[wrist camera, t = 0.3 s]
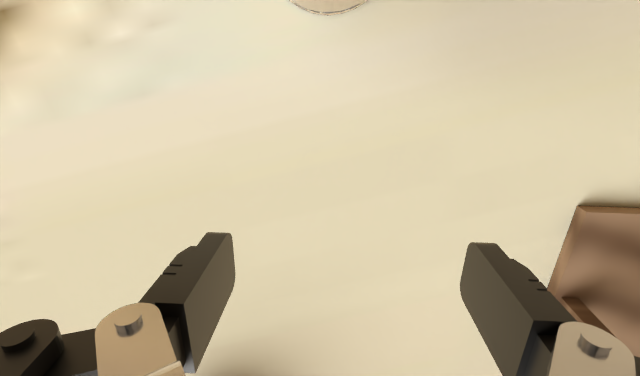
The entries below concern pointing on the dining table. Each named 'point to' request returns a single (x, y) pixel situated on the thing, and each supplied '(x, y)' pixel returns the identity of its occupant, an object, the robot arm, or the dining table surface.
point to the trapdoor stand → (602, 271)
